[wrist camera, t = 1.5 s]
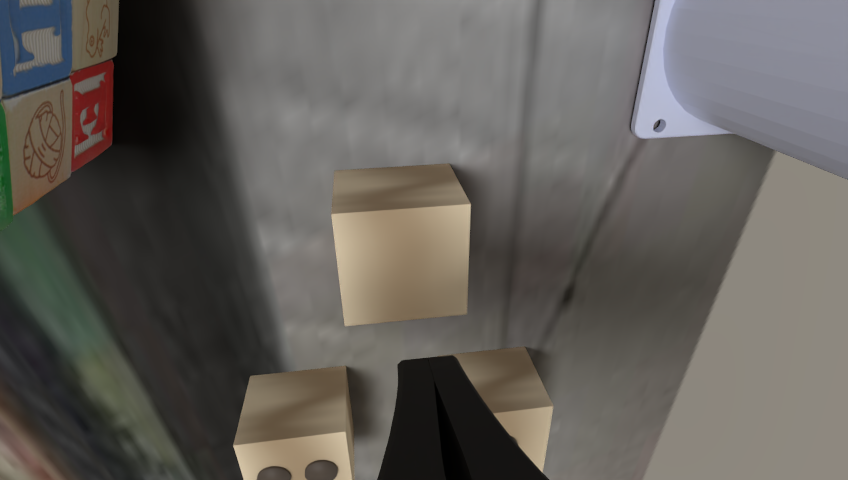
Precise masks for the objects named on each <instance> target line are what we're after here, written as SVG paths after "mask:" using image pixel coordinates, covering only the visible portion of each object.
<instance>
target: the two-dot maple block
mask: <svg viewBox="0 0 848 480" xmlns="http://www.w3.org/2000/svg"><path fill="white" fill-rule="evenodd" d="M233 446H234V449H235V453H236V456H237V459H238V462H239V465H240V469H241V472H242V475H243V478H244V480H354V427H353V419H352V411H351V403H350V395H349V387H348V379H347V372H346V366H339V367H330V368H321V369H311V370H302V371H293V372H284V373H274V374H265V375H256V376H250V379H249V384H248V388H247V392H246V396H245V400H244V404H243V408H242V412H241V416H240V420H239V424H238V429H237V433H236V437H235V441H234V445H233Z"/></svg>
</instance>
